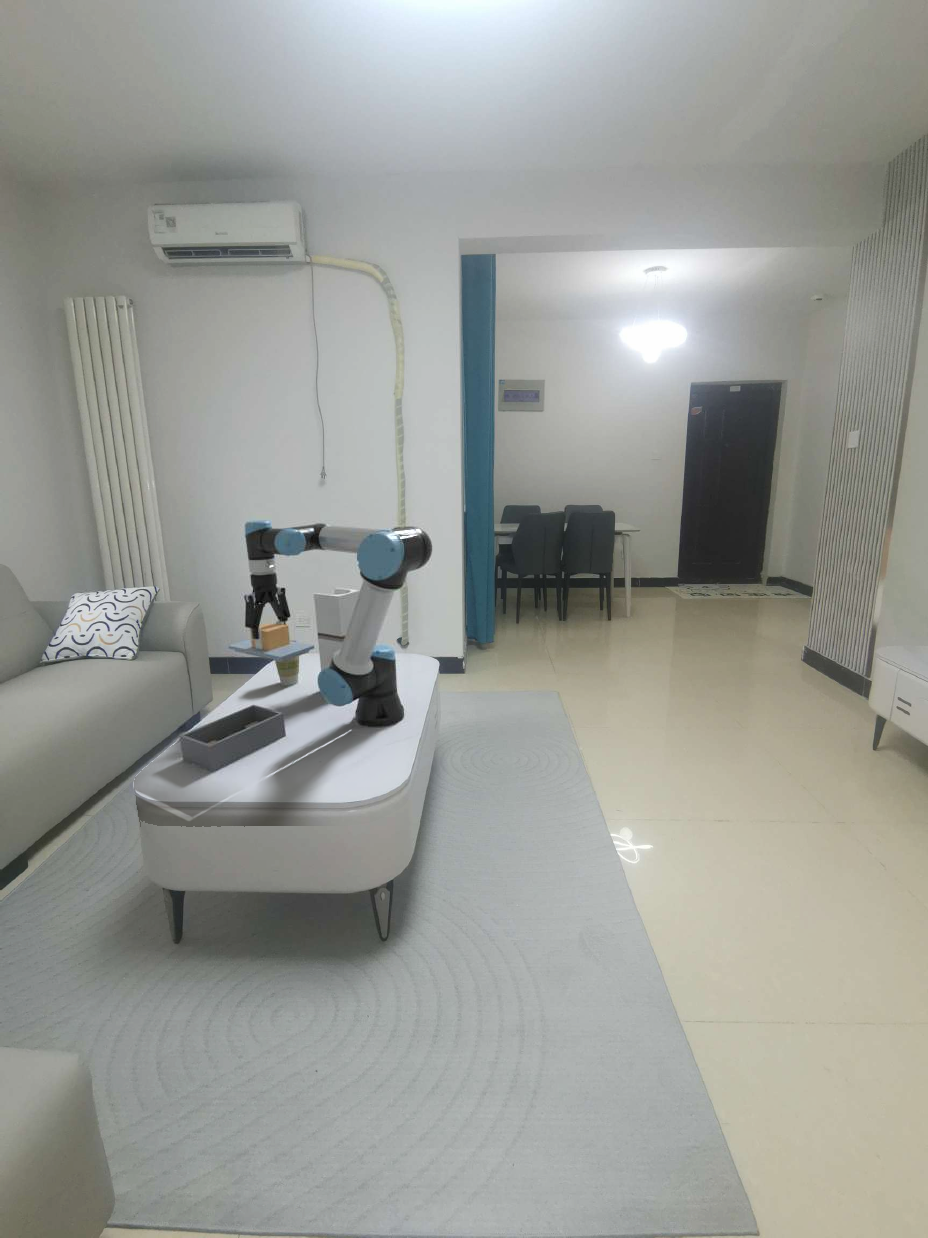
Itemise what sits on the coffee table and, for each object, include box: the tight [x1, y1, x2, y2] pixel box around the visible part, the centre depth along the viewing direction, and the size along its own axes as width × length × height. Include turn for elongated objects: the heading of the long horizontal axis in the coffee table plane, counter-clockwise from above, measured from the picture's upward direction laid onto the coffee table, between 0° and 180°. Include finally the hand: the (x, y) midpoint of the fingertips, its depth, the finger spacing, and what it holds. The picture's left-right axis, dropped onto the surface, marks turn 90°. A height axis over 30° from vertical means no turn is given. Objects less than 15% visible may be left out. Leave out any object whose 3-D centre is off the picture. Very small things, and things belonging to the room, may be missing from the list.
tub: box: [178, 704, 287, 773], centre depth 164 cm, size 13×24×8 cm, turn 148°
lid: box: [228, 622, 315, 662], centre depth 182 cm, size 13×24×8 cm, turn 58°
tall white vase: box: [313, 587, 360, 672], centre depth 206 cm, size 11×11×35 cm
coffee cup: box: [274, 640, 300, 687], centre depth 215 cm, size 10×10×15 cm
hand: (271, 644), depth 183 cm, fingers closed on lid, 8 cm apart
